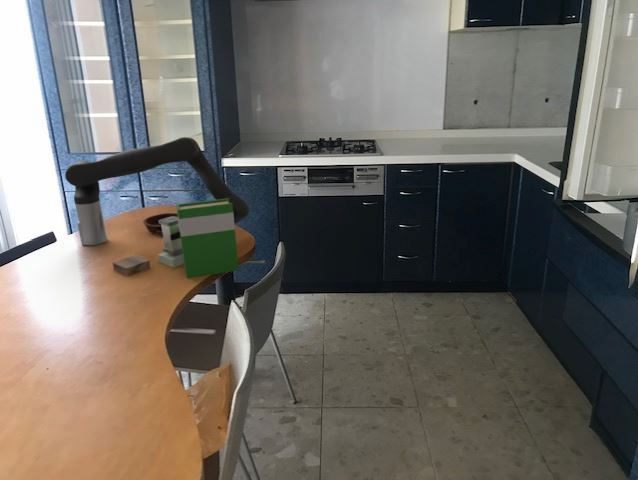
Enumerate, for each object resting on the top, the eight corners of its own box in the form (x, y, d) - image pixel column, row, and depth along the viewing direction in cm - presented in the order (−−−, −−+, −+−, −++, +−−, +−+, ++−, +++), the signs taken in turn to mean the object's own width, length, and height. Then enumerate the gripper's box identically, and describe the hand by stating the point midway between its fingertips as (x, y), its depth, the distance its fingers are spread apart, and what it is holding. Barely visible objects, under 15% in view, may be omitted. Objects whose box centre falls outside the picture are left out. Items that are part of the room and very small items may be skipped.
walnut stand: (127, 276, 174) (126, 268, 173) (113, 270, 180) (112, 262, 179) (150, 268, 180) (149, 260, 179) (136, 262, 186) (135, 254, 185)
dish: (140, 239, 210) (138, 228, 208) (149, 223, 230) (147, 212, 228) (183, 236, 212) (181, 225, 210) (188, 220, 232) (187, 209, 231)
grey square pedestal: (173, 255, 181) (168, 223, 177) (163, 251, 184) (158, 220, 180) (186, 250, 185) (182, 218, 181) (177, 246, 189) (172, 215, 184)
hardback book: (235, 262, 183) (228, 198, 174) (238, 270, 176) (232, 203, 168) (185, 270, 178) (176, 204, 169) (186, 278, 171) (177, 210, 163)
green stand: (173, 267, 180) (172, 259, 179) (158, 261, 186) (157, 254, 185) (194, 259, 186) (193, 252, 185) (179, 254, 192) (178, 247, 191)
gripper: (191, 210, 196) (153, 222, 184) (215, 217, 187) (176, 230, 175) (194, 229, 198) (156, 241, 186) (217, 236, 190) (179, 250, 177)
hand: (166, 236), depth 181 cm, fingers closed on grey square pedestal, 5 cm apart
